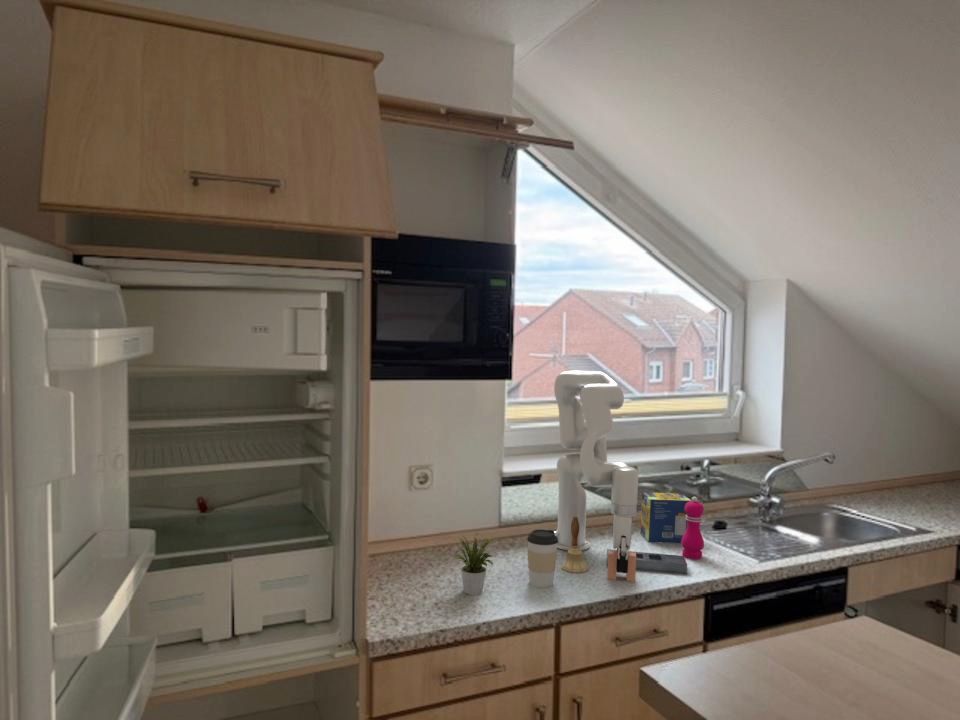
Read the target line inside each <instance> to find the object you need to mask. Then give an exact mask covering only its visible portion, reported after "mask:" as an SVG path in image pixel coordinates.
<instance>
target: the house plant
mask: <svg viewBox="0 0 960 720" xmlns="http://www.w3.org/2000/svg"><path fill="white" fill-rule="evenodd" d="M478 533H479V532H478V531H477V532H476V534H475V536H474V539H473V544H472V548H470V545H469V542H468V540H467V538H466V537H465V536H464V535H462V534H460V536H458V537H457V538H458V540H460V541H461V543H462V544H458V545H457V546H460V547H458V549H459V550H460V551H461V552H462V554H463V556H464V557H463V556H462V555H461V554H460V553H459V554H458V553H456V554H454V555H452V557H453V558H455V560H458V561H462V562H463V563H464V564H465V565H463V566H462V567H461V568H460V570H461V579H462V585H463V586H462V588H463V592H464V593H465V594H467V595H471V596H475V595H477V596H478V595H481V594H482V593H483V590H484V585H485V580H486V575H487V568H488V563H489V564H491V565H492V567H494V565H493V564H494V562H493V561H492V560H490V559H487V558H491V557H492V558H493V557H494V556H493V555H492V554H490V553H489V552H485V551H486V549H488V547H491V546H492V545H493V546H494V543H492V544H490V545H489V542H490V541H491V539H493V538H494V535H493V536H490V537H489V538H487V539H486V540H485V541H484V542H483V544H482V545H480V547H479V548H478V546H479V544H480V542H482V541H483V540H484V539H485V538H486V537H485V538H482V539H481V540H480V541H479V542H478V538H477V535H478ZM461 536H462V537H463V538H464V539H465V540H464V539H463V538H462V537H461ZM446 538H448V539H450V537H447V536H446ZM451 539H452V540H454V541H456V539H455V538H454V537H451ZM488 545H489V546H488ZM487 546H488V547H487ZM486 547H487V548H486ZM464 549H465V550H464Z"/></svg>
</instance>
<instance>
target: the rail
mask: <svg viewBox="0 0 960 720" xmlns="http://www.w3.org/2000/svg"><path fill="white" fill-rule="evenodd" d="M616 550H617V549H608V548H607V549H606V566H607V568H608V551H616ZM628 552H631V553H636V570H639V571H651V572H661V573H670V574H671V573H672V574H680V573H682V574H681V575H687V574H688V563H687V560H686V557H684V556H683V555H676V554H675V555H674V554H668V553H667V554H665V553H655V552H642V551H641V552H640V551H630V550H628Z"/></svg>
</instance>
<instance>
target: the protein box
mask: <svg viewBox="0 0 960 720" xmlns="http://www.w3.org/2000/svg"><path fill="white" fill-rule="evenodd" d="M689 501H692V499H690V498H689V497H687V496H686V495H685V494H683V493H681V492H680V493H679V492H675V493H674V492H641V509H640V510H641V513H640V514H641V515H640V532H639V533H640V535H641V534H642V535H643V536H644V537H643V536H642V535H641V536H642V537H643V538H644V539H645V540H646V541H647V542H648V543H655V542H662V543H661V544H663V543H664V544H681V541H682V537H683V535H684V533H685V531H686V529H687V520H686V515H687V513H686V512H685V505H686V503H687V502H689ZM666 542H667V543H666Z"/></svg>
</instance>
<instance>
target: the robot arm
mask: <svg viewBox="0 0 960 720" xmlns="http://www.w3.org/2000/svg"><path fill="white" fill-rule="evenodd" d="M553 388H554V389H553V390H554V396H555V401H556V404H557V408H558V423H559V440H560V444H561V446H562V448H564V449H567V450H571V451H572V450H580V453H579V452H578V453H566V454H564V455H562V456H560V457H559V458H558V459H557V463H556V473H557V480H558V504H557V505H558V507H557V509H558V510H557V527H556V530H553V531H554V533H555V535H556V536H557V537H558V543H557V549H559V550H563V551H568V550H569V549H572V533H571V523H572V520H573V517H577V518H578V522H579V534H578V537H577V544H578V549H579V550H581V551H582V552H583V551H586V550H589V548H590V542H589V541H588V540H586V527H587V526H586V524H587V523H586V522H587V520H586V519H587V497H588V496H587V493H586V491H585V490H586V489H584V487H583V486H582V484H581V483H583V482H584V483H585V482H586V484H587V485H588V486H590V487H592V488H604V487H605V488H606V487H607V488H608V487H611V496H610V497H611V499H610V501H611V503H610V513H611V515H613V525H612V528H613V529H612V548H613V550H616V551H618V558H617V567H616V573H621V574H626V573H627V572H628V559H627V558H628V551H630V550H631V543H632V531H633V517H636V516H637V515H638V513H637V512H638V494H639V493H638V492H639V491H638V490H639V489H638V488H639V472H638V469H637V468H635V467H632V466H629V465H627V464H626V463H625V462H623V461H608V456H607V455H608V452H607V451H608V450H607V449H608V448H607V436H609V435H610V434H612V433H613V432H614V431H615V424H614V420H613V417H612V412H611V411H612V410H619V409H621V408H622V407H623V404H624V402H625V395H624V392H623V390H622V388H621V387H620V385H619V384H618V383H617V382H616V381H615V380H614V379H612V378H611V377H610V376H609V375H608V374H606V373H604V372H603V371H597V370H568V371H567V370H566V371H563V372H561V373H558V375H557V376H556V378H555V381H554V387H553ZM577 396H579V398H580V400H579V399H578V397H577Z"/></svg>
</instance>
